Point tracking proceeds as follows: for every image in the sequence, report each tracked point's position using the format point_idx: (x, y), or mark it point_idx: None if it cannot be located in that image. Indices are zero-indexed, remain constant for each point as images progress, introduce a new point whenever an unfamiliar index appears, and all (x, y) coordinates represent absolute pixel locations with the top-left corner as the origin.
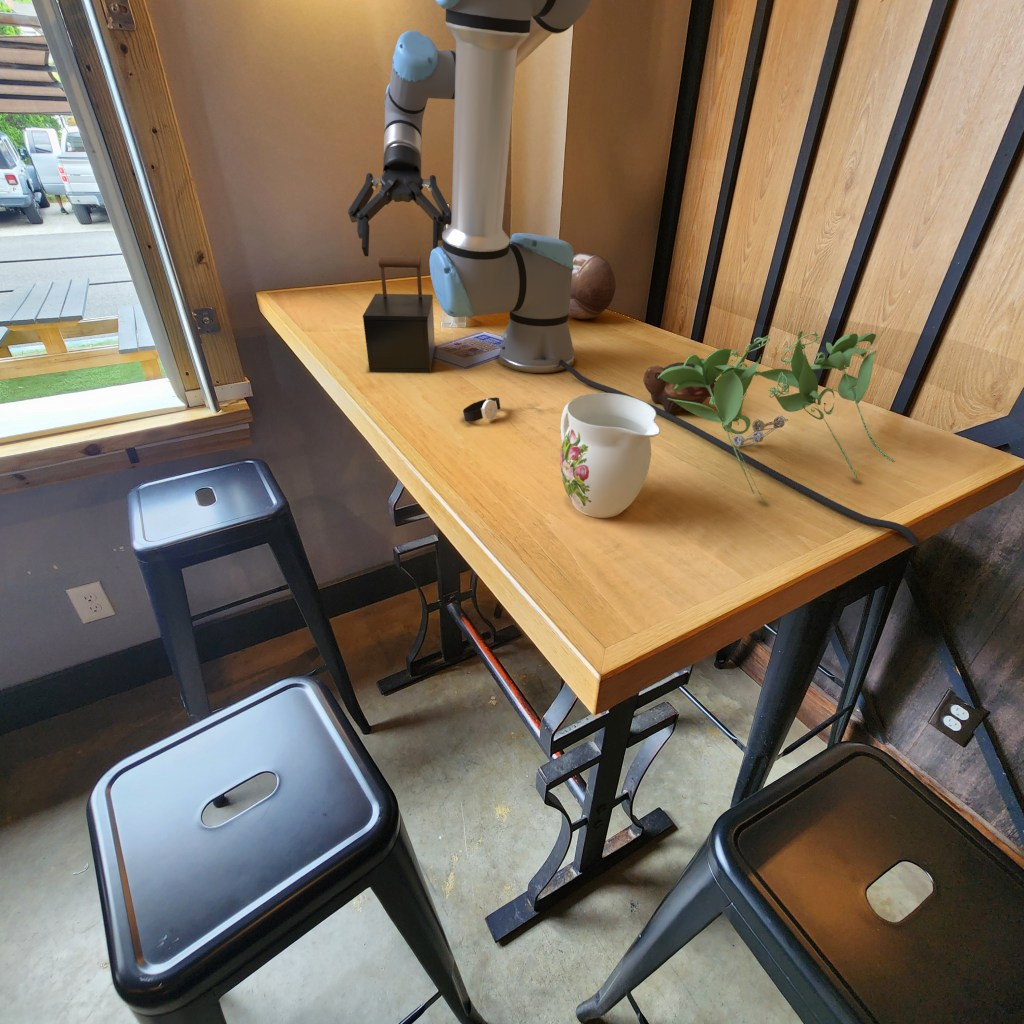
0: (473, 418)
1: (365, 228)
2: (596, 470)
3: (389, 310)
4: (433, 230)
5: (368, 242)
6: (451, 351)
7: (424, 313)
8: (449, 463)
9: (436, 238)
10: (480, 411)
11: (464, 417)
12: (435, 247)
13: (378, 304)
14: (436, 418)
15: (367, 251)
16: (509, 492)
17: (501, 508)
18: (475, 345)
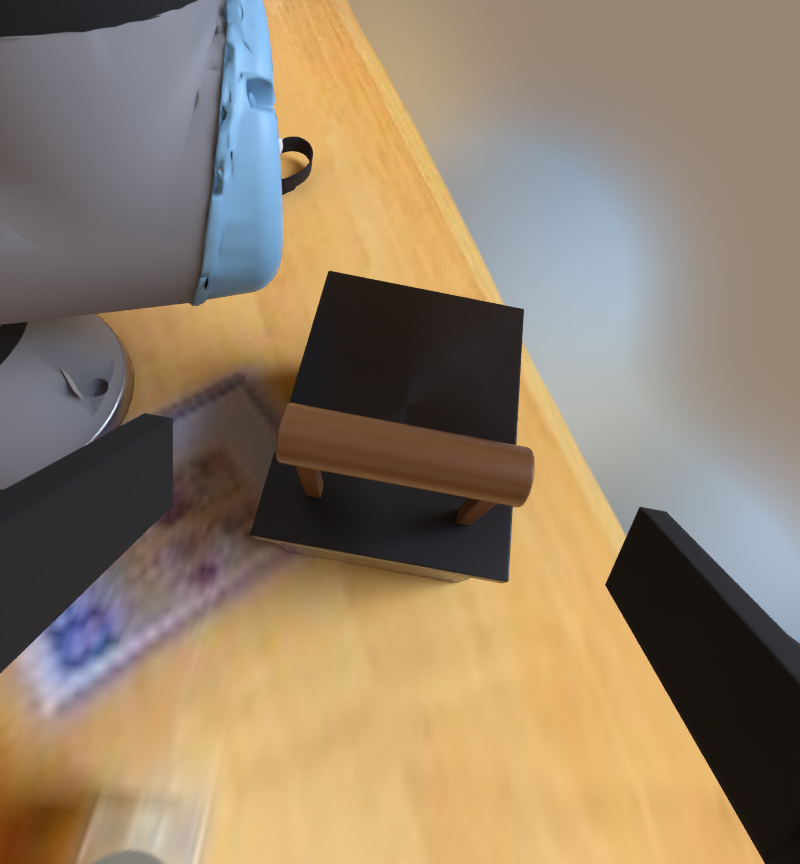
0: (299, 147)
1: (750, 620)
2: None
3: (444, 342)
4: (52, 489)
5: (657, 653)
6: (244, 506)
7: (331, 297)
8: (357, 97)
9: (85, 450)
10: (285, 141)
11: (311, 165)
12: (145, 419)
13: (484, 415)
14: (355, 191)
15: (622, 563)
16: (301, 44)
17: (319, 29)
18: (148, 552)
